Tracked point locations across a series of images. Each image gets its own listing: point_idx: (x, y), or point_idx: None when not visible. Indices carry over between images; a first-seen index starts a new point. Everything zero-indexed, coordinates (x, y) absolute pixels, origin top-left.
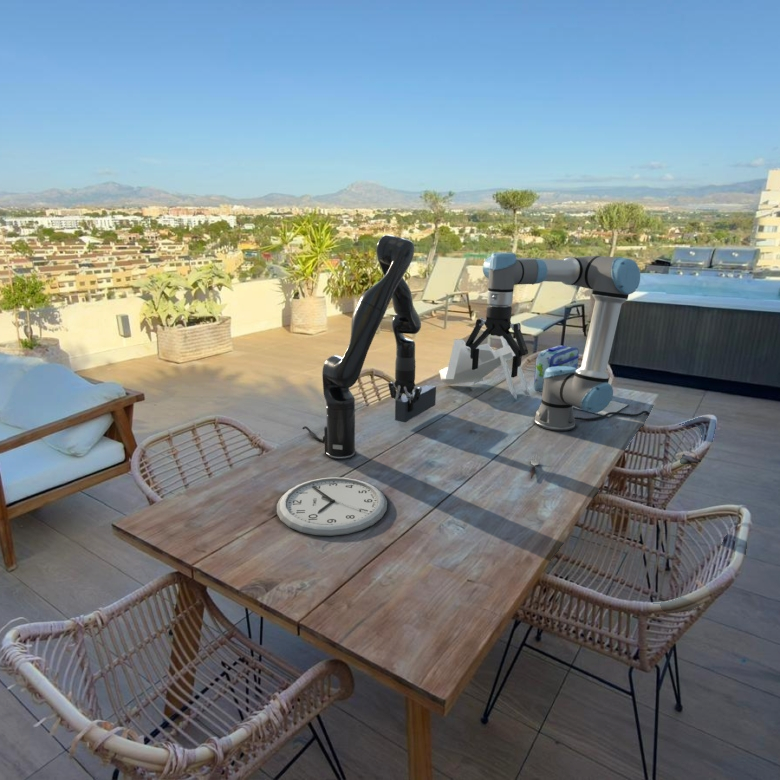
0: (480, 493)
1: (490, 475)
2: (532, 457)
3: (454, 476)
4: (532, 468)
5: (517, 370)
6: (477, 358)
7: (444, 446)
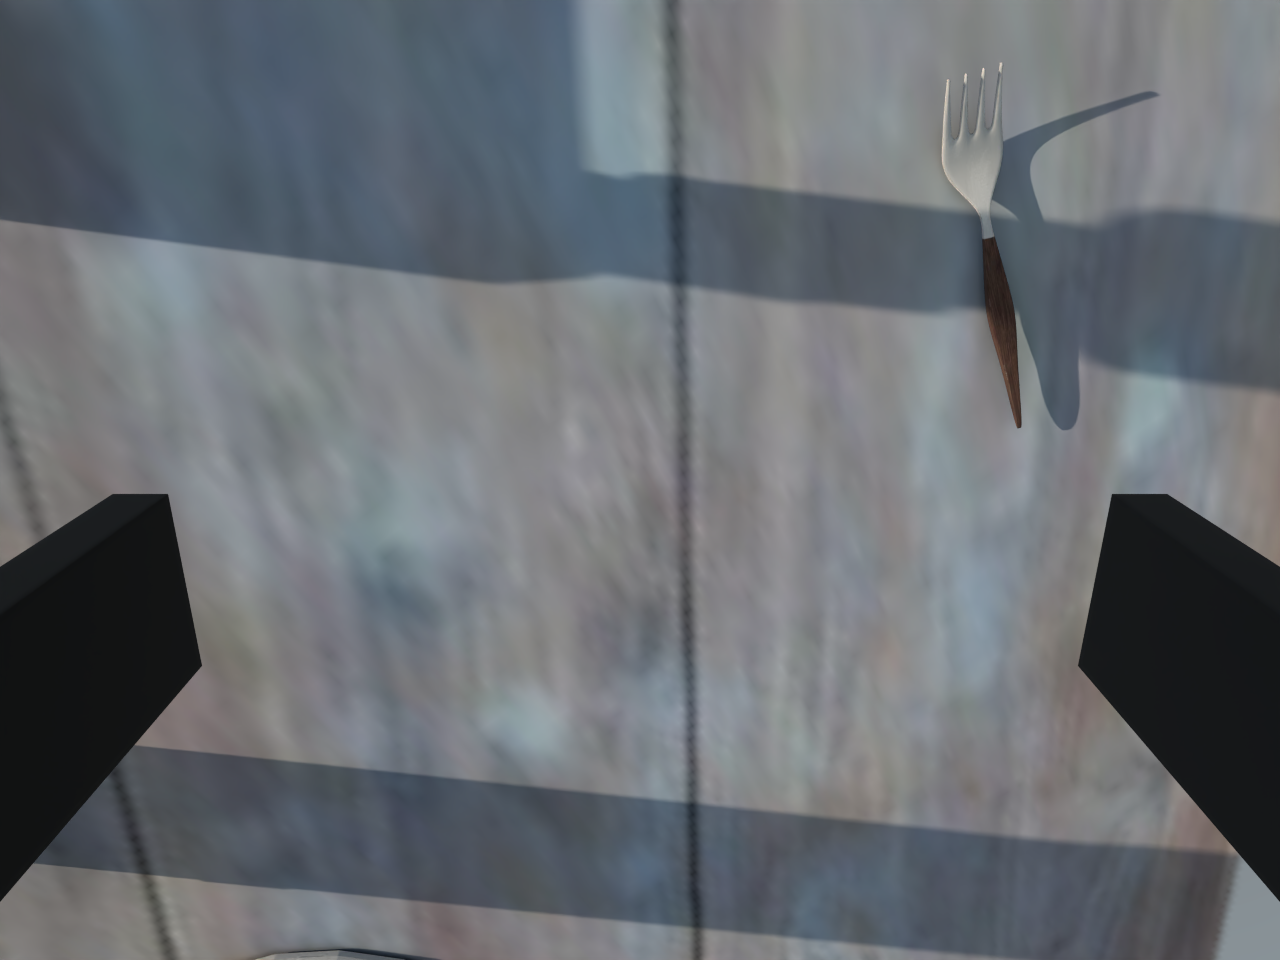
0: (814, 717)
1: (772, 508)
2: (947, 115)
3: (605, 642)
4: (990, 286)
5: (1243, 549)
6: (14, 679)
7: (285, 300)
